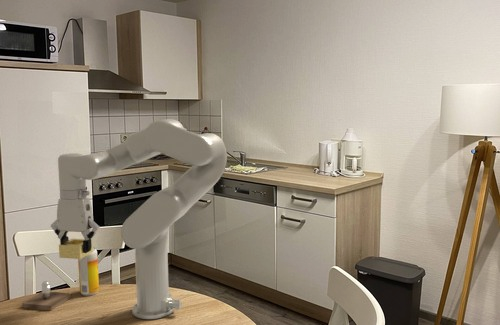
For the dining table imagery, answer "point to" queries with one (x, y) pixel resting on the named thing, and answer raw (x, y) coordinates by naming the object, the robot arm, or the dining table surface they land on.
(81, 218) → the robot arm
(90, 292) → the beer can
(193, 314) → the dining table surface
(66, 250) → the square wooden frame
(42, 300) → the keeper block
